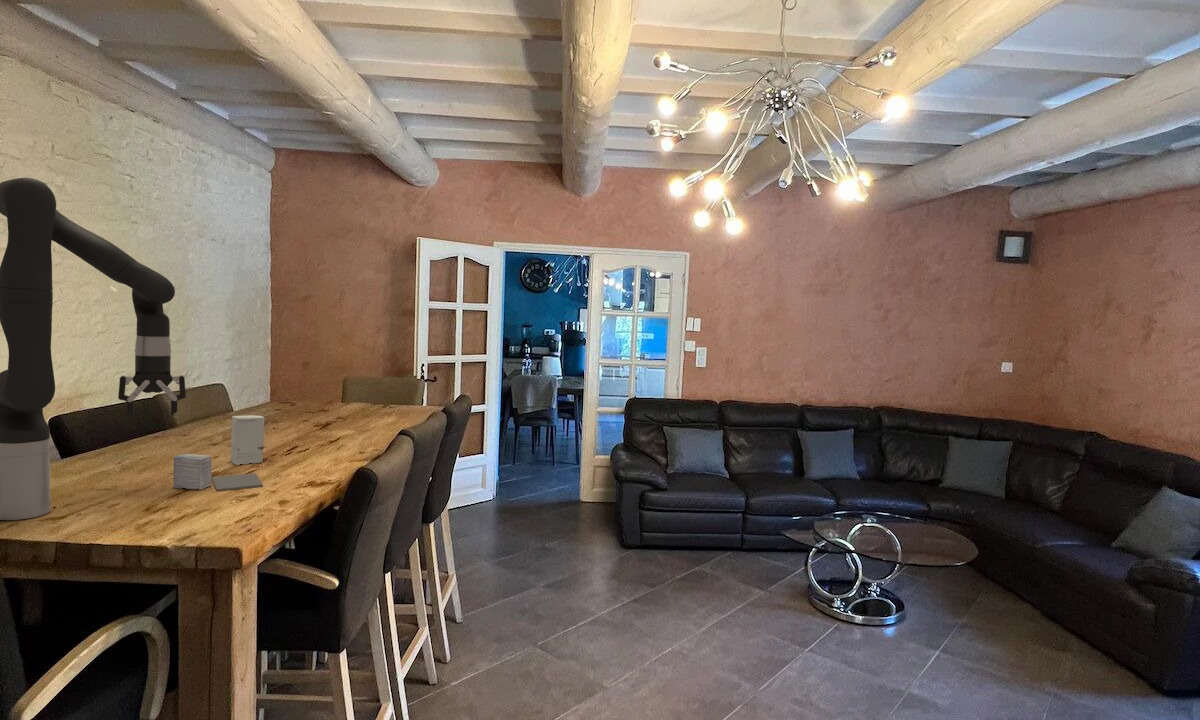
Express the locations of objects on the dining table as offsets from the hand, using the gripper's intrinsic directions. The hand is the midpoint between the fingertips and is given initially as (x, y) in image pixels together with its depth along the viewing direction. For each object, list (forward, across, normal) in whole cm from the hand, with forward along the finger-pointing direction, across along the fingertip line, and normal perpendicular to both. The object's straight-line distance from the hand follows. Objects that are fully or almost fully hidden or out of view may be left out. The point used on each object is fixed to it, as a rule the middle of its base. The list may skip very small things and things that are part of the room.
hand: (152, 415), depth 165 cm
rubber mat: (+20, +20, 0) cm, 28 cm away
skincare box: (+20, +25, +25) cm, 41 cm away
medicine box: (+20, +9, 0) cm, 22 cm away
